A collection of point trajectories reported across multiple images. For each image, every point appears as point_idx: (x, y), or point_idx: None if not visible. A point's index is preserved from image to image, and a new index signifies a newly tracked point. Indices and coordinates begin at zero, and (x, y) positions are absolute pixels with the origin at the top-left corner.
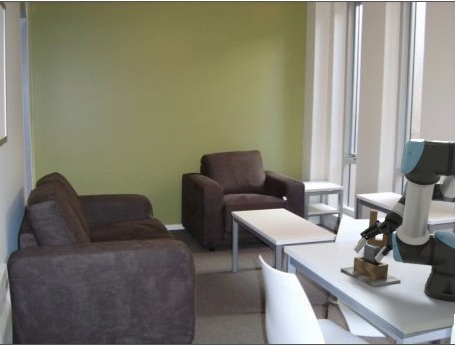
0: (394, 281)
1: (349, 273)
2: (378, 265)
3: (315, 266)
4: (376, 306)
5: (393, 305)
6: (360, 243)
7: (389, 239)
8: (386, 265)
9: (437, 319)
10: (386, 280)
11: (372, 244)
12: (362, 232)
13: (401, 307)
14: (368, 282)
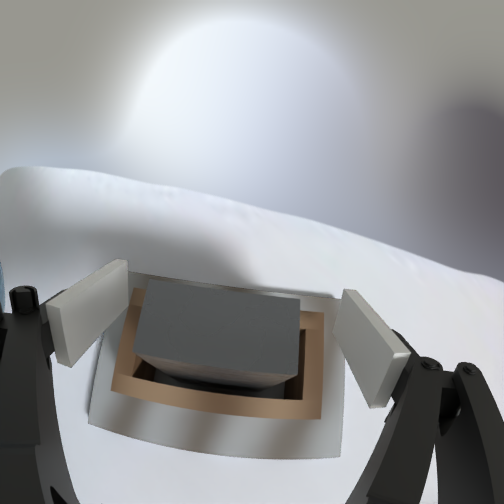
0: (94, 387)
1: (281, 294)
2: (134, 324)
3: (401, 252)
4: (61, 176)
5: (30, 212)
6: (365, 325)
7: (3, 361)
8: (113, 376)
9: None
10: (115, 359)
11: (251, 364)
12: (478, 380)
13: (15, 220)
14: (152, 276)
